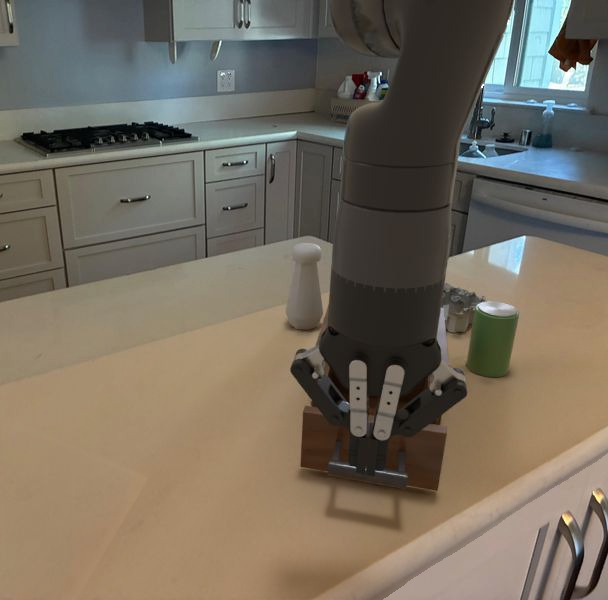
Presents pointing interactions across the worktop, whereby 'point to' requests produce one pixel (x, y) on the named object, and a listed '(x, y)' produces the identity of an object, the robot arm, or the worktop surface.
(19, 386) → the worktop surface
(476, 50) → the robot arm
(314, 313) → the salt shaker
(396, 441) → the drawer
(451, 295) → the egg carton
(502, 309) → the can
